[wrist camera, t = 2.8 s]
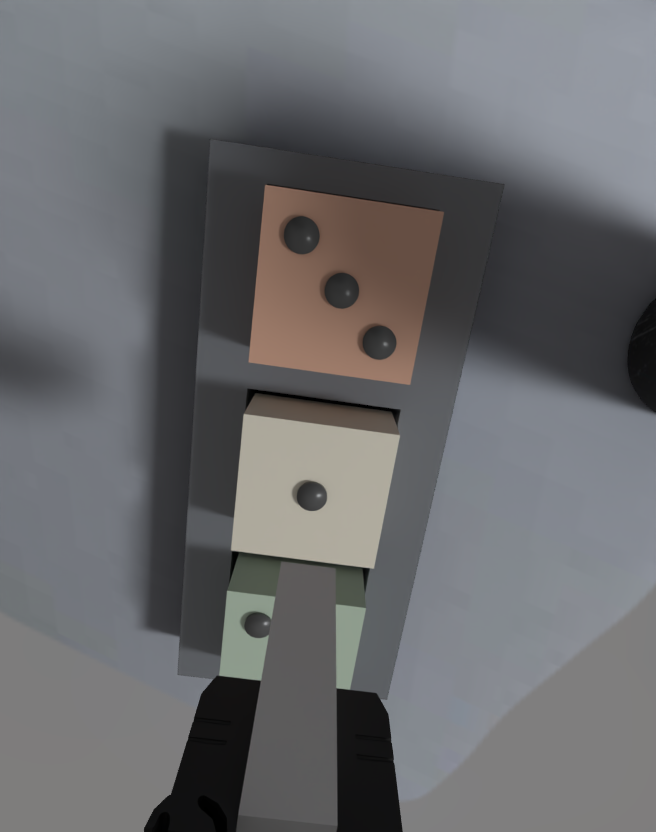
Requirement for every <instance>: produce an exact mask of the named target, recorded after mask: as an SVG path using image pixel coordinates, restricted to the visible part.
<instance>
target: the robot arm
mask: <svg viewBox="0 0 656 832" xmlns="http://www.w3.org/2000/svg"><path fill="white" fill-rule="evenodd" d="M393 760H394V757H393V749H392V743H391V732H390V724H389V716H388V713H387V711H386V709H385V707H384V706H383V704H382V702H381V700H380V698H379V696H378V695H377V693H373V692H364V691H356V690H348V689H339V688H336V568H329V567H321V566H313V565H305V564H297V563H289V562H282V561H281V567H280V572H279V578H278V584H277V590H276V596H275V602H274V608H273V614H272V619H271V625H270V631H269V637H268V643H267V649H266V655H265V660H264V666H263V672H262V678H261V681H260V680H251V679H243V678H235V677H226V676H218V675H217V676H216V677H215V678H214V679H213V681H212V682H211V683H210V684H209V685H208V687H207V688H206V689H205V690H204V691H203V693H202V694H201V697H200V700H199V704H198V707H197V710H196V714H195V717H194V722H193V723H192V727H191V730H190V733H189V737H188V741H187V743H186V747H185V750H184V753H183V757H182V760H181V763H180V767H179V770H178V773H177V777H176V780H175V783H174V786H173V790H172V793H171V795H169V796H167V797H166V798H165V799H164V800H163V801H162V802H161V803H160V804H159V805H158V806H157V807H156V808H155V809H154V810H153V812H152V814H151V816H150V818H149V820H148V822H147V824H146V826H145V827H144V832H403V831H402V823H401V815H400V807H399V798H398V790H397V782H396V773H395V765H394V763H393Z"/></svg>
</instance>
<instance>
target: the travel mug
mask: <svg viewBox="0 0 656 832" xmlns="http://www.w3.org/2000/svg"><path fill="white" fill-rule="evenodd" d="M628 370H629V376H630V379H631V383H632V385H633V387H634V389H635V391H636V393H637V394H638V396H639V397H640V399H641V400H642V401H643V402H644V403H645V404H646V405H647V406H648V407H649V408H651V409H652V410H653V411H655V412H656V299H655V300H654V301H653V302H652V303H651V304H650V305H649V307H648V308H647V309H646V311H645V312H644V313H643V315H642V316H641V318H640V320H639V322H638V323H637V325H636V328H635V330H634V332H633V335H632V338H631V342H630V345H629V352H628Z"/></svg>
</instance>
